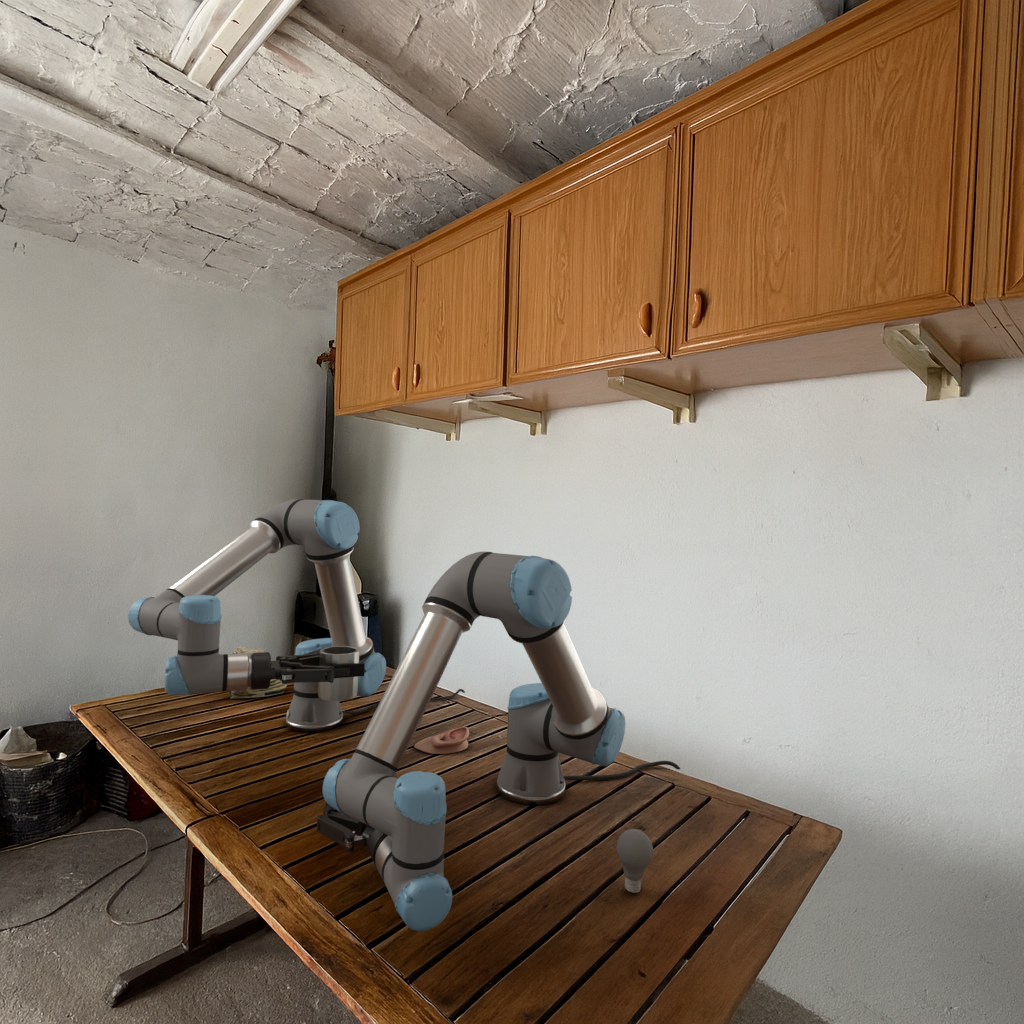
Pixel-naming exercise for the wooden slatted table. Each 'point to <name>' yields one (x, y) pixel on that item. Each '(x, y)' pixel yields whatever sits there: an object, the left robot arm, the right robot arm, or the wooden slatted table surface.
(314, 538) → the left robot arm
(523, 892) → the wooden slatted table surface
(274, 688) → the fossil
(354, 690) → the cup
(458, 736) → the anatomical model
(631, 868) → the light bulb
